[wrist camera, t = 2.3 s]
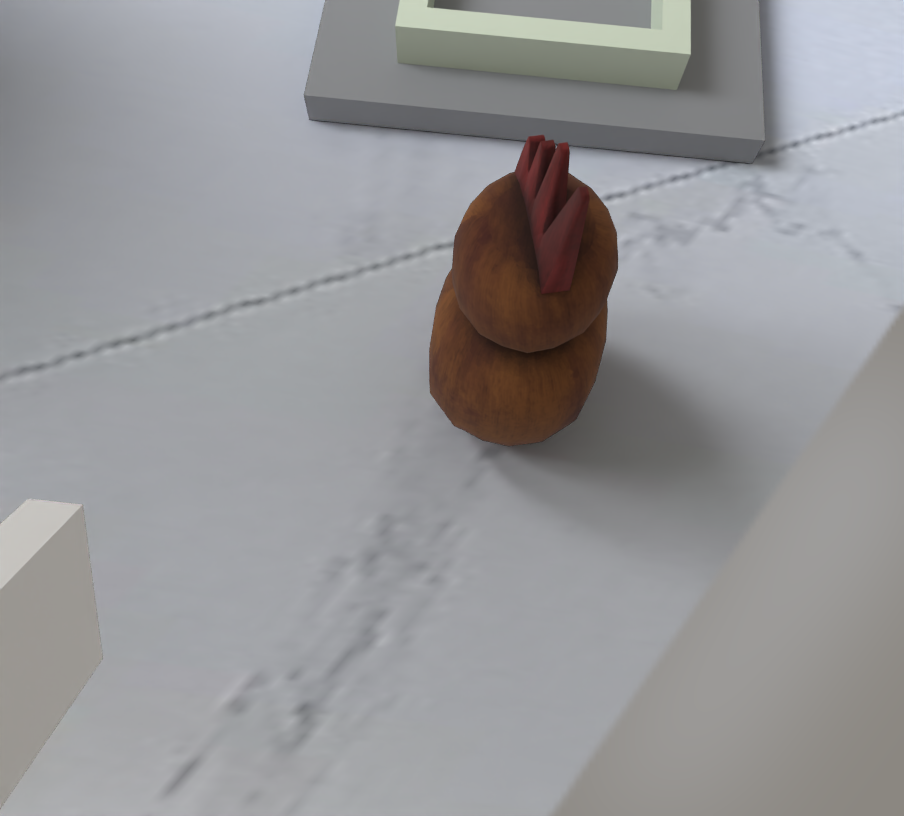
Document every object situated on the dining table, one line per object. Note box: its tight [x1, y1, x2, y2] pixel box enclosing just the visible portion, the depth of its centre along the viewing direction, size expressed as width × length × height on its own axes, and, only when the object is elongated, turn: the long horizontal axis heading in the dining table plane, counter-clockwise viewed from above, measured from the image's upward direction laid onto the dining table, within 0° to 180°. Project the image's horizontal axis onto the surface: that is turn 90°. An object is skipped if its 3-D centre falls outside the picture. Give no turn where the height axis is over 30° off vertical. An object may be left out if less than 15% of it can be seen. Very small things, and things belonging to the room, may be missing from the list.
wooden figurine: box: [429, 135, 618, 446], centre depth 23 cm, size 7×6×15 cm
